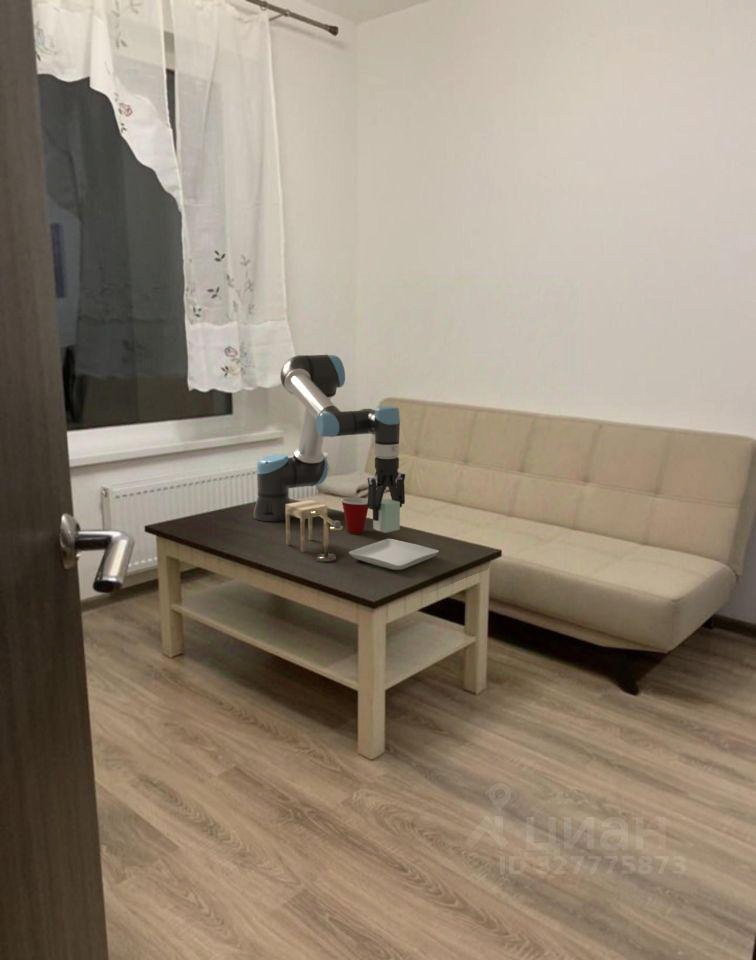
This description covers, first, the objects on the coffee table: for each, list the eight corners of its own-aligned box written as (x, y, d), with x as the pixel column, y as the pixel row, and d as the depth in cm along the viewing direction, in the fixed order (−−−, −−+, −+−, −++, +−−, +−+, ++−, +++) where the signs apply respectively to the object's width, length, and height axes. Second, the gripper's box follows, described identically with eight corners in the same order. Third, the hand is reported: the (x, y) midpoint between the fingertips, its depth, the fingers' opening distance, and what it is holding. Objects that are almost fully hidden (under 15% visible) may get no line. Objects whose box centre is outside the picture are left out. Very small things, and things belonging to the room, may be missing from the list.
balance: (305, 555, 243) (305, 510, 239) (321, 551, 246) (321, 507, 243) (332, 567, 231) (332, 520, 228) (347, 563, 235) (347, 517, 232)
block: (372, 528, 239) (373, 501, 237) (387, 525, 243) (387, 498, 241) (384, 532, 235) (385, 504, 233) (399, 529, 238) (399, 502, 236)
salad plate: (388, 546, 254) (388, 536, 253) (440, 559, 241) (440, 549, 240) (346, 561, 238) (346, 551, 237) (400, 576, 225) (400, 565, 224)
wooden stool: (286, 544, 254) (285, 504, 251) (310, 539, 260) (310, 499, 257) (302, 551, 246) (301, 510, 243) (327, 546, 252) (327, 505, 249)
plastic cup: (377, 532, 269) (377, 499, 266) (354, 538, 262) (354, 504, 259) (357, 525, 277) (357, 494, 274) (334, 531, 270) (334, 498, 267)
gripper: (370, 461, 225) (369, 536, 230) (417, 455, 237) (416, 525, 242) (355, 458, 231) (355, 530, 236) (402, 451, 243) (401, 520, 247)
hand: (386, 528), depth 239 cm, fingers closed on block, 6 cm apart
